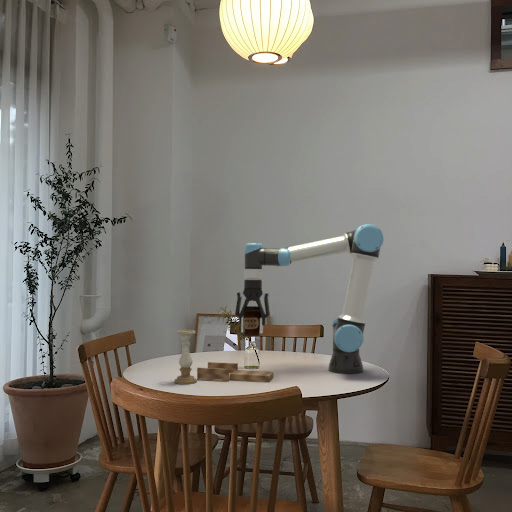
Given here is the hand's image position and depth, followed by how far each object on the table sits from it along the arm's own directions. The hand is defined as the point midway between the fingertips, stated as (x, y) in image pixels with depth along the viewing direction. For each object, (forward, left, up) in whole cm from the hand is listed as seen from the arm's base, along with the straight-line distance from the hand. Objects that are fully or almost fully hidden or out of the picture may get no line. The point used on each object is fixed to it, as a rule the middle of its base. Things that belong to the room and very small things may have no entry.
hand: (252, 332), depth 247 cm
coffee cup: (0, 0, -2) cm, 2 cm away
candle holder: (+22, +23, -18) cm, 36 cm away
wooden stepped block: (+4, +10, -18) cm, 21 cm away
